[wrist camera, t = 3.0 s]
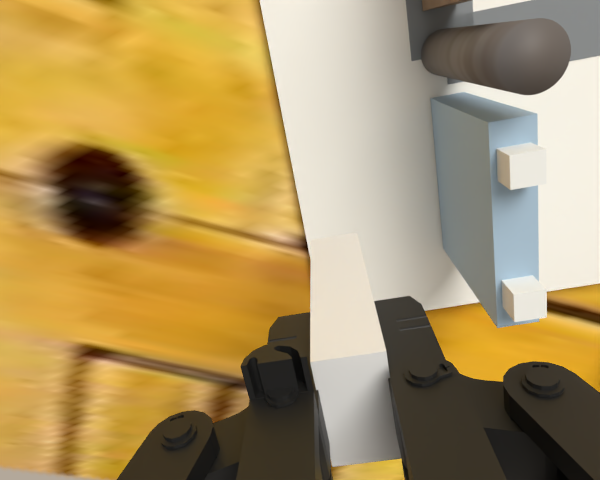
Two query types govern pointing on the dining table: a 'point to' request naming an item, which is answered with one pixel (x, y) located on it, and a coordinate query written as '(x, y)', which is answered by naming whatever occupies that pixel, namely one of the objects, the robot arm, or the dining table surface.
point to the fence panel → (491, 202)
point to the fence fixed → (499, 53)
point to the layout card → (425, 135)
